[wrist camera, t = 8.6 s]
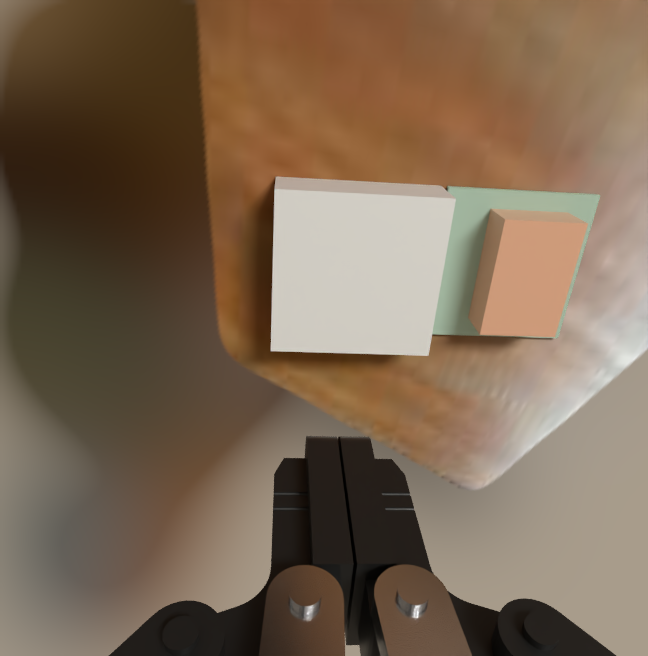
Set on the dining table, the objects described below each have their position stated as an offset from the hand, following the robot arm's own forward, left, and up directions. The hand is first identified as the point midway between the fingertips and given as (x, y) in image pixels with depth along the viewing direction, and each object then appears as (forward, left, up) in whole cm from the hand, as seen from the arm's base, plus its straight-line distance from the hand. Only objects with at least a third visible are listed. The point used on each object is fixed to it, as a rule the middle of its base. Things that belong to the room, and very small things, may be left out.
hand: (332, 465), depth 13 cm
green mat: (+5, +16, -29) cm, 34 cm away
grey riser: (+5, +4, -29) cm, 30 cm away
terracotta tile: (+5, +17, -27) cm, 32 cm away
